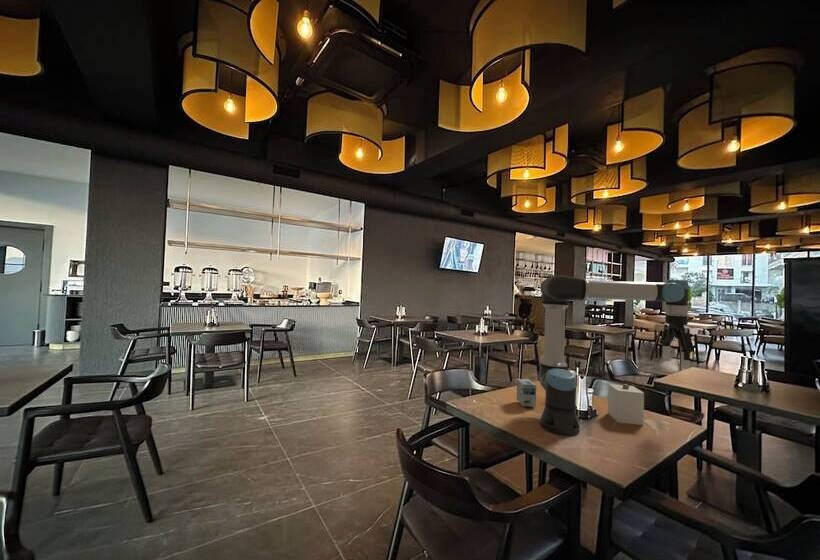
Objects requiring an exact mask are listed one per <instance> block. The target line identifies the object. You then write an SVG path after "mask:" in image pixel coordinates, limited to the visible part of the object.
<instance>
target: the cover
mask: <svg viewBox="0 0 820 560" xmlns="http://www.w3.org/2000/svg"><path fill="white" fill-rule="evenodd" d="M607 395H608V396H607V414H608V415H609V416H610V417H611V418H612V419H613V420H614V421H615V422H616V423H619V424H628V425H629V424H630V425H638V426H644V422H643V421H644V419H645V418H644V417H645V392H643V391H642V390H640V389H639V388H637V387H635V386H634V385H629V384H627V383H622V384H614V383H608V394H607Z"/></svg>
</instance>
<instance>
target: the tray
mask: <svg viewBox="0 0 820 560" xmlns="http://www.w3.org/2000/svg"><path fill="white" fill-rule="evenodd" d="M643 424H645V425H647V426H648V427H649V428H650V429H652V430H656V431H657V430H658V431H661V430H666V431H667V430H668V431H670V429H669V427H667V424H669V422H668V421H662V420H656V419H655V420H652V419H645V418H644V421H643Z"/></svg>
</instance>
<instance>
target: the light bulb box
mask: <svg viewBox="0 0 820 560" xmlns="http://www.w3.org/2000/svg"><path fill="white" fill-rule="evenodd" d="M516 400H517V402H519V404H520V405H521V406H523V407H534V408H536V407H537V384H535V382H533V381H531V380H530V379H529V378H528V379H527V378H516Z"/></svg>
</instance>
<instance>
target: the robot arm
mask: <svg viewBox="0 0 820 560" xmlns="http://www.w3.org/2000/svg"><path fill="white" fill-rule="evenodd" d="M689 292H690V289H689V281H688V280H686V279H667V280H666V281H665V282H650V281H649V282H648V281H622V280H621V281H620V280H619V281H618V280H617V281H615V280H611V281H610V280H591V279H590V280H587V279H586V278H585V277H575V276H574V277H573V276H569V275H551V276H548V277H547V278H545V279H544V280H543V282H542V283H541V286H540V294H541V295H542V296H541V305H542V306H543V307H544V308H545V311H544V312H545V313H544V343H543V359H542V360H540V362H539V371H538V373H537V378H538V381H539V384H540V385H541V387H542V388H543V390H544V391H545V397H544V398H545V400H544V401H545V403H544V408H543V411H542V414H541V416H540V420H539V421H540V423H539V425H540V427H542V428H543V429H545V430H546V431H547V432H550V433H553V434H557V435H561V436H576V435H577V436H578V434H580V431H581V427H580V426H581V425H580V423H579V419H578V416H577V413H576V407H577V403H576V402H577V401H576V400H577V385H578V384H577V383H578V381H577V377H576V375H575V374H574V373H573V372H571V371H570V370H568V364H567V362H565V339H566V336H565V335H566V334H565V333H566V332H565V331H566V309H568V308H569V306H570V301H572V302H573V301H585V300H586V299H593V300H594V299H596V300H597V299H599V300H620V301H621V300H623V301H644V302H646V301H647V302H665V318H664V319H665V324H664V325H663V330H662V334H661V338H660V339H659V340H660V341H659V344H661V345H662V362H663V361H664V362H671V353H672V351H671V348H672V345H671V343H672V342H673V340H674V338H676V339H677V341H678V343H679V345H680V349H681V351H680V368H681V369H690V366H691V363H690V362H691V353H693V352H695V348H694V345H693V344H694V343H693V341H692V338H691V336H692V335H691V334H690V328H689V327H685V326H687V325H688V323H689V322H688V321H689V317H688V313H689Z"/></svg>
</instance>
